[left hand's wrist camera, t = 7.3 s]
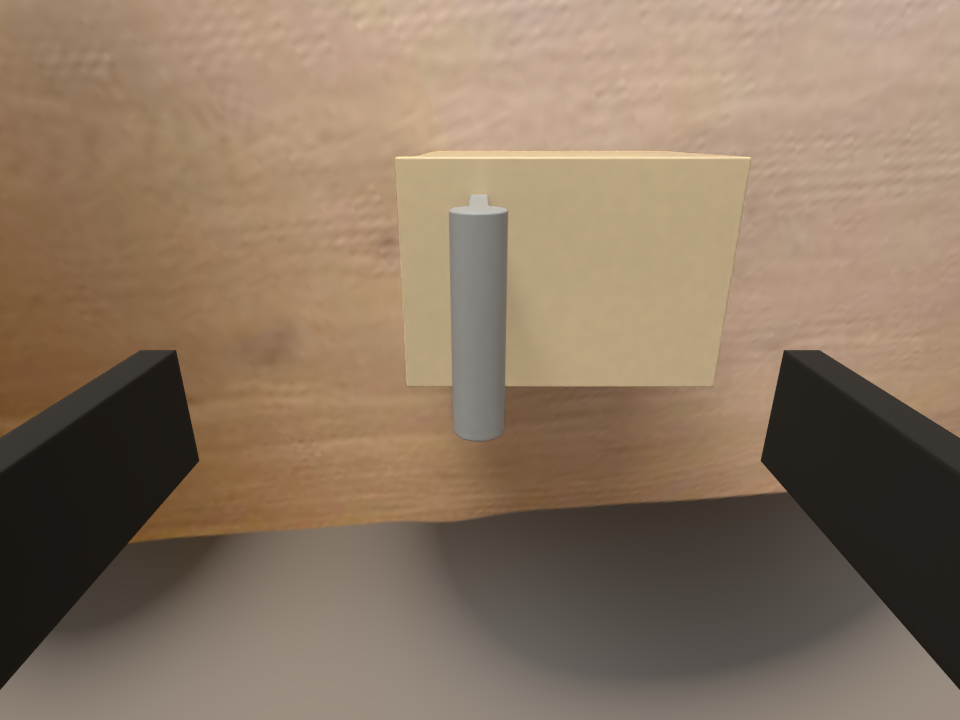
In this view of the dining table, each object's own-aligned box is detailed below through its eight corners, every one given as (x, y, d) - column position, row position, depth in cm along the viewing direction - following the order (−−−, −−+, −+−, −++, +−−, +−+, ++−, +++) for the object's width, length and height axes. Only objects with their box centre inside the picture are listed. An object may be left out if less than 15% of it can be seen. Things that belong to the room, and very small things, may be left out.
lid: (408, 379, 26) (380, 475, 19) (397, 156, 22) (356, 165, 15) (706, 379, 26) (796, 475, 19) (741, 156, 22) (870, 165, 15)
